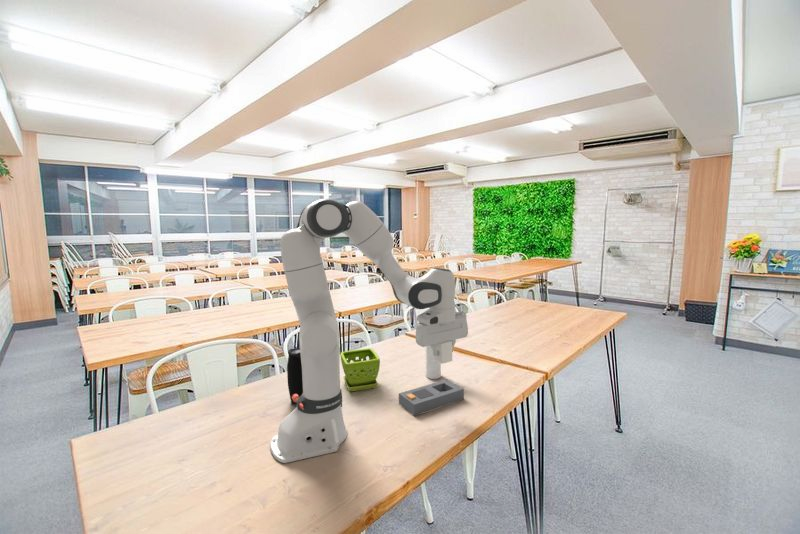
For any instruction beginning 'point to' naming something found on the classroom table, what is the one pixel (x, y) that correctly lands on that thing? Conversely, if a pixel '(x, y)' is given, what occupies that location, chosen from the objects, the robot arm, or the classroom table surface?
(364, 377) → the flower pot
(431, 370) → the water bottle
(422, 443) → the classroom table surface
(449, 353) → the block
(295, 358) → the portable speaker
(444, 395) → the power strip
